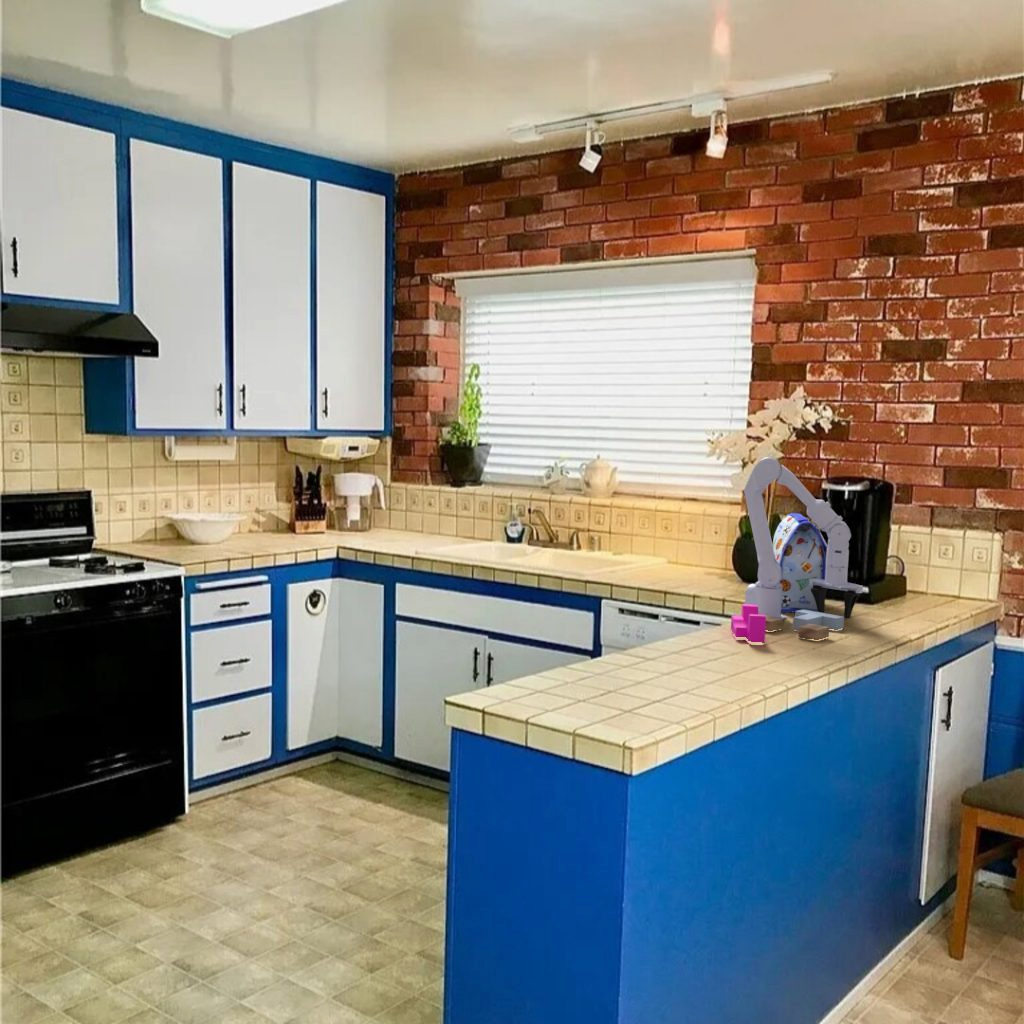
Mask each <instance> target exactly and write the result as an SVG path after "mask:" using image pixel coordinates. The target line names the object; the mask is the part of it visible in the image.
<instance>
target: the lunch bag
mask: <svg viewBox="0 0 1024 1024" xmlns="http://www.w3.org/2000/svg"><path fill="white" fill-rule="evenodd" d="M819 529H820V528H819V527H818V526H817V525H816V524H815V523H814V522H813V521H809V519H808V518H807V517H805V516H803V515H802V514H801V513H797V512H791V513H789V514H787V515H786V516H785V517H784V518H783V519H782V520H781V521H780V522H779V524H778V525H777V528H776V530H775V532H774V535H773V540H772V546H773V550H774V554H775V558H776V561H777V562H778V563H779V565H780V566H781V580H780V583H781V584H782V585H783V586H782V605H781V613H795V611H798V610H803V609H804V610H809V611H815V612H818V610H817V605H816V602H815V599H814V596H813V594H812V592H811V588H813V586H809V581H810V579H812V578H814V579H824V580H825V570H826V553H827V548H828V543H827V542H826V539H824V536H823V535H822V532H821V531H820V530H819Z"/></svg>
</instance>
